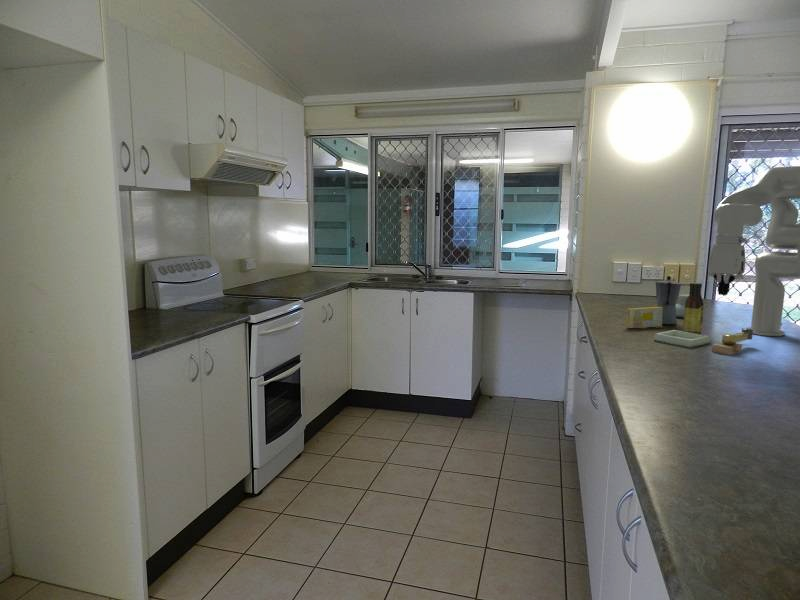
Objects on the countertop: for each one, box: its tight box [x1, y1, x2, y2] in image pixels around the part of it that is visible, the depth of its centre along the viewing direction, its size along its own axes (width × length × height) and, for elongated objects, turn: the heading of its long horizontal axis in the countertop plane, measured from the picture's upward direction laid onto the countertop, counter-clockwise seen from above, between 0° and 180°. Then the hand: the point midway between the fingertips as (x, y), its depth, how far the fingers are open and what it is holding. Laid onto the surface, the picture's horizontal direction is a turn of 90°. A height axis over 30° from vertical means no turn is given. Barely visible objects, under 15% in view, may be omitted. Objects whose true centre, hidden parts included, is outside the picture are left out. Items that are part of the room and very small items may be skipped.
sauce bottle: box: [682, 282, 705, 335], centre depth 204 cm, size 7×6×20 cm
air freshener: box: [675, 294, 690, 319], centre depth 243 cm, size 11×8×10 cm
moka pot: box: [655, 275, 682, 325], centre depth 226 cm, size 10×15×20 cm, turn 161°
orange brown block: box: [711, 341, 743, 356], centre depth 179 cm, size 8×6×3 cm
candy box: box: [626, 306, 663, 329], centre depth 218 cm, size 16×2×8 cm, turn 108°
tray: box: [653, 329, 711, 348], centre depth 193 cm, size 13×13×2 cm
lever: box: [721, 328, 754, 344], centre depth 183 cm, size 17×4×3 cm, turn 125°
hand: (722, 294), depth 186 cm, fingers closed
